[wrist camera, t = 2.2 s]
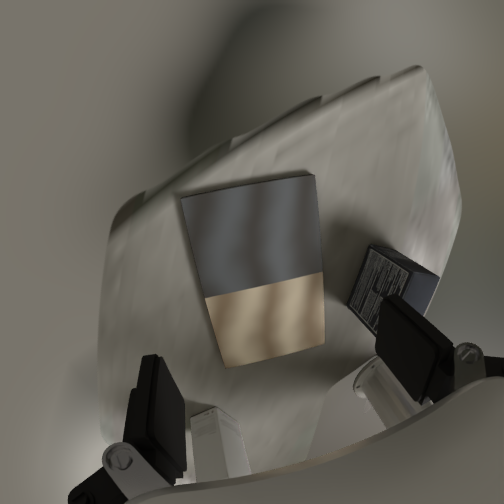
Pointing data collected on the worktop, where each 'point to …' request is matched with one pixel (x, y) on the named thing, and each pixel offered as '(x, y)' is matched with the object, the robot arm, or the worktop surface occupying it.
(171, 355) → the worktop surface
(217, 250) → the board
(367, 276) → the small box
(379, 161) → the worktop surface
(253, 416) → the worktop surface
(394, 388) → the robot arm
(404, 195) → the worktop surface
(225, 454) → the skincare box
